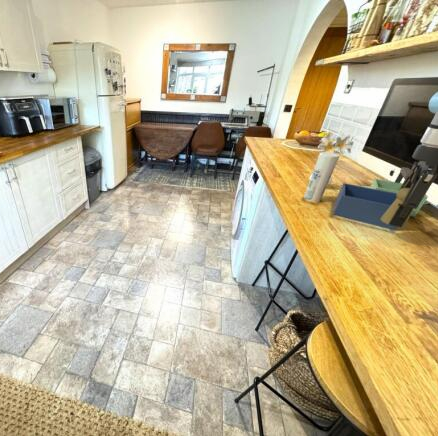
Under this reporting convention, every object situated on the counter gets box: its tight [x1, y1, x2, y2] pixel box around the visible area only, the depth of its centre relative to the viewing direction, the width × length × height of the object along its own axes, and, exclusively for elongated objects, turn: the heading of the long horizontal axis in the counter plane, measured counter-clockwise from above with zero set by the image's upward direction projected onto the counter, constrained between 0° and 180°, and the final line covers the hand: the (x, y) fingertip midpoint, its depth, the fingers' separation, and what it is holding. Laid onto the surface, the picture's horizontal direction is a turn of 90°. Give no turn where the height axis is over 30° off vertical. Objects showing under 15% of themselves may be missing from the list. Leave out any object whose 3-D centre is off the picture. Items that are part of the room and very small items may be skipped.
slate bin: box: [332, 182, 397, 231], centre depth 90 cm, size 18×16×9 cm
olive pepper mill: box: [381, 188, 413, 228], centre depth 72 cm, size 6×6×11 cm
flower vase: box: [308, 131, 355, 187], centre depth 110 cm, size 13×18×25 cm
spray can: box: [303, 151, 340, 203], centre depth 98 cm, size 6×6×20 cm
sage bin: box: [369, 166, 429, 218], centre depth 95 cm, size 14×12×15 cm
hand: (393, 220), depth 75 cm, fingers closed on olive pepper mill, 6 cm apart
